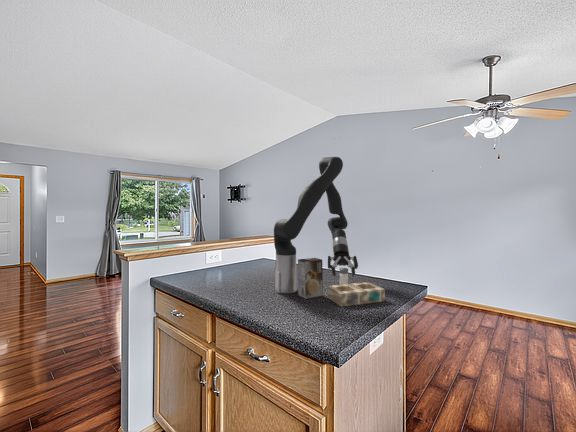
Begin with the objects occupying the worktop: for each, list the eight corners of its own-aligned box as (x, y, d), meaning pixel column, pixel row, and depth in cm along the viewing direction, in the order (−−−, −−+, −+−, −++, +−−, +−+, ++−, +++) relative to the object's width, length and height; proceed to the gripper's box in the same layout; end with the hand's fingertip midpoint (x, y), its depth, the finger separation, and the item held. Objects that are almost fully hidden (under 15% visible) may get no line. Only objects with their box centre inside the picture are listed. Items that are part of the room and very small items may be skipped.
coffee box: (315, 292, 131) (315, 257, 131) (323, 295, 126) (323, 259, 125) (297, 295, 127) (297, 259, 127) (305, 299, 121) (305, 261, 121)
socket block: (341, 306, 112) (341, 294, 111) (327, 297, 123) (327, 285, 123) (385, 301, 118) (385, 289, 117) (368, 293, 129) (368, 282, 129)
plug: (342, 291, 132) (342, 269, 132) (338, 289, 136) (338, 268, 136) (349, 290, 133) (349, 269, 133) (345, 288, 137) (345, 267, 137)
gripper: (326, 243, 143) (329, 271, 132) (355, 243, 142) (360, 271, 131) (325, 252, 148) (328, 279, 137) (353, 252, 148) (358, 279, 137)
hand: (343, 275), depth 134 cm, fingers open, 8 cm apart
